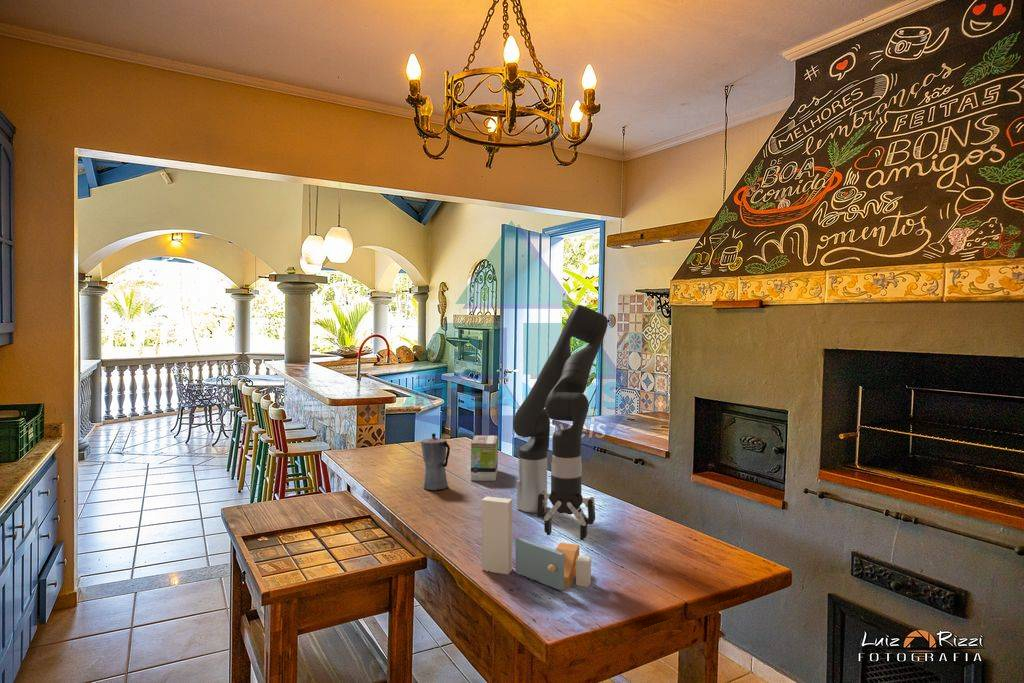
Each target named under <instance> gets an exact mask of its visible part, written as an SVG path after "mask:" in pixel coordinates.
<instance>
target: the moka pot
mask: <svg viewBox="0 0 1024 683" xmlns="http://www.w3.org/2000/svg"><path fill="white" fill-rule="evenodd" d="M436 435H437V434H436V433H435V432H434V433H431V438H424V439H422V440H421V441H420V445H421V451H422V457H423V462H424V467H425V468H424V477H423V489H424V488H425V490H428V491H438V490H445V489H447V488H448V487H449V486H448V485H449V484H448V480H447V473H446V467H448V460H449V457H450V450H451V446H450V445H449V444H448V441H447V440H446V439H445V438H439V437H436Z"/></svg>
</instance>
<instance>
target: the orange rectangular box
mask: <svg viewBox="0 0 1024 683" xmlns="http://www.w3.org/2000/svg"><path fill="white" fill-rule="evenodd" d="M555 550H556V551H559V552H562V553H564V589H565V588H566V589H569V588H570V586H571V584H572V582H573V581H574V578H576V559H577V558H578V556H579V555H580V545H579V544H576V543H575V544H573V543H566V542H559V544H558V545H557V546H556V548H555Z"/></svg>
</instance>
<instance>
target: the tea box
mask: <svg viewBox="0 0 1024 683" xmlns="http://www.w3.org/2000/svg"><path fill="white" fill-rule="evenodd" d="M498 453H499V436H498V435H481V434H480V435H473V438H472V441H471V443H470V481H474V482H475V481H477V482H479V481H481V482H482V481H483V482H495V481H496V479H497V476H498V470H499V469H498V468H499V467H498V465H499V463H498V462H499V456H498V455H499V454H498Z"/></svg>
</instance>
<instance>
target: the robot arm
mask: <svg viewBox="0 0 1024 683" xmlns="http://www.w3.org/2000/svg"><path fill="white" fill-rule="evenodd" d="M608 319H609V318H608V317H607V316H606V315H604V314H602V313H600V312H599V311H596V310H594V309H591V308H589V307H587V306H584V305H582V304H577V305H575V306H574V307H573V309H572V310H571V311H570V313H569V315H568V317H567V320H566V322H565V323H564V326H563V328H562V330H561V332H560V335H559V336H558V339H557V341H556V344H555V345H554V347H553V349H552V351H551V353H550V354H549V356H548V357H547V359H546V361H545V363H544V365H543V367H542V369H541V370H540V372H539V374H538V376H537V379H536V381H535V383H534V384H533V385H532V388H531V389H530V390H529V393H528V395H527V396H526V398H525V399H524V400H523V402H522V403H521V405H520V406H519V408H518V409H517V410H516V412H515V414H514V417H513V420H512V428H513V431H514V433H515V434H516V436H518V437H521V438H529V439H528V441H527V442H525V444H523V445H521V446H520V448H519V450H518V479H517V481H516V509H517V510H518V511H519V510H520V511H521V512H525V513H536V516H537V518H541V519H543V520H544V521H543V522H544V526H543V528H544V529H543V530H544V533H546V536H551V534H552V531H553V530H552V523H553V518H551V517H553V515H554V514H555V513H556V512H558V514H562V515H563V514H566V515H569V516H571V515H573V516H574V517H575V518H576V519H577V520H578V521H579V523H580V525H579V528H580V530H579V534H580V535H579V540H580V541H584V540H585V539H586V538H587V536H588V525H593V524H594V522H595V521H596V506H595V498H594V497H593V496H590V497H589V498H588V497H587V498H586V497H585V498H584V497H583V494H582V485H583V484H582V476H583V475H582V474H583V468H582V467H583V466H582V465H583V464H582V437H583V436H582V434H583V430H584V427H585V426H584V425H585V423H586V419H587V416H588V413H589V409H590V408H589V407H590V403H589V399H588V397H587V396H586V395H585V394H584V392H586V389H587V386H588V382H589V378H590V374H591V370H592V367H593V365H594V362H595V359H596V358H597V355H598V353H599V350H600V348H601V346H602V344H603V340H604V337H605V336H606V332H607V329H608V326H609V324H608V323H609V321H608ZM571 338H575V339H577V340H580V341H581V342H585V343H586V344H588V345H586V346H584V348H581V349H580V350H578V351H576V352H575V353H573V354H572V353H571V340H572V339H571ZM551 420H553V421H563V422H572V425H571V427H568V428H562V429H561V428H560V429H558V430H555V431H554V432H553V433H552V438H551V439H552V440H551V441H552V446H551V447H552V450H551V453H552V454H551V465H550V466H551V467H550V493H548V451H549V449H550V435H551V434H550V433H551ZM548 500H549V502H550V503H551V505H552V507H551V508H550V510H549V511H548V512H547V511H546V510H547V509H548ZM582 504H584V506H585V508H587V516H588V517H587V516H586V514H585V512H584V510H583V509H582V507H581V506H582Z"/></svg>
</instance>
